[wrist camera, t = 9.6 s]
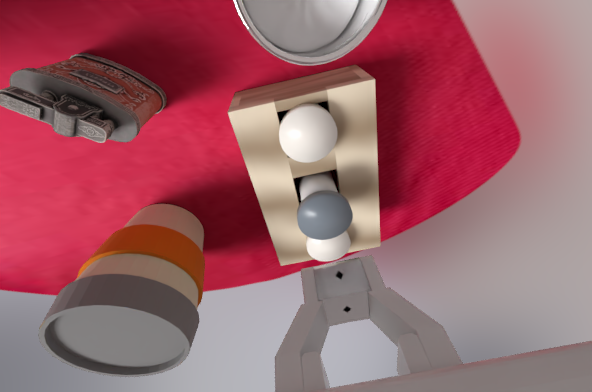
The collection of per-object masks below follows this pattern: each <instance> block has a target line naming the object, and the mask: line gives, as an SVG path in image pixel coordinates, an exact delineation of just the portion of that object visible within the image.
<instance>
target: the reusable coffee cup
mask: <svg viewBox="0 0 592 392" xmlns="http://www.w3.org/2000/svg"><path fill="white" fill-rule="evenodd" d="M203 241H204V229H203V226H202V224H201V223H200V221H199V220H198V219H197V217H196V216H195V215H193V214H192V213H191V212H189V211H187V210H186V209H184V208H181V207H178V206H175V205H171V204H153V205H149V206H146V207H144V208H142V209H141V210H140V211H138V212H137V213H136V214H135V215H134V217H133V218H132V219H131V220H130V221H129V222H128V223H127V224H126V225H125V226H124V228H122V229H120V230H118V231H116V232H115V233H113V234H112V235H111V236H110V237H109V238H108V239H107V240H106V241H105V242H104V243H103V244H102V245H101V246H100V247H99V249H98V250H97V251H96V252H95V253H94V254H93V255H92V256H91V257H90V258H89V259H88V260H87V261H86V262H85V263H84V264H83V266H82V267H81V269H80V270H79V273H78V277H77V279H76V280H75V281H74V282H72V283H70V284H68V285H67V286H66V287H64V288H63V289H62V290H61V291H60V293H59V294H58V296H57V298H56V299H55V301H54V303H53V305H52V306H51V308H50V310H49V312H48V313H47V315H46V317H45V319H44V321H43V323H42V324H41V326H40V328H39V334H38V336H39V339H40V343H41V344H42V346H43V347H44V348H45V350H46V351H47V352H49V353H50V354H51V355H52V356H53V357H55V358H57V359H58V360H60V361H62V362H63V363H66V364H68V365H70V366H72V367H75V368H78V369H81V370H84V371H88V372H92V373H97V374H102V375H109V376H120V377H138V376H148V375H153V374H158V373H162V372H165V371H168V370H170V369H173V368H174V367H176V366H178V365H179V364H181V363H182V362H183V361H184V360H185V359H186V357H187V356H188V354H189V351H190V348H191V345H192V342H193V339H194V336H195V333H196V331H197V328H198V324H199V315H198V312H197V307H198V305H199V304H200V302H201V299H202V294H203V281H204V269H205V260H204V256H203V253H202V252H203Z"/></svg>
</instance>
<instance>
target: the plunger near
mask: <svg viewBox="0 0 592 392" xmlns="http://www.w3.org/2000/svg"><path fill="white" fill-rule="evenodd" d="M283 112H284V117H283V119H282V121H281V123H280V127H279V140H280V144H281V147H282V149H283V151H284V152H285V153H286V154H287V155H288V156H289V157H290V158H292V159H293V160H296V161H298V162H304V163H310V162H315V161H318V160H320V159H322V158H324V157H325V156H327V155H328V154H329V153H330V152H331V151H332V149H333V148H334V146H335V144H336V141H337V126H336V124H335V122H334V120H333V118H332V116H331V115H330V113H329V112H328V111H327V110H326V109H324V108H323V107H321V106H319V105H318V103H315V104H301V105H298V106H296V107H294V108H292V109H289V110H284V111H283Z"/></svg>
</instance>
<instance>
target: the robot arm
mask: <svg viewBox="0 0 592 392" xmlns="http://www.w3.org/2000/svg"><path fill="white" fill-rule="evenodd" d="M301 278H302V286H303V294H304V302H305V304H302V305H301V306H300V308H299V310H298V312H297V314H296V316H295V318H294V320H293V322H292V324H291V327H290V328H289V330H288V332H287V334H286V336H285V338H284V340H283V342H282V344H281V346H280V348H279V350H278V352H277V354H276V356H275V392H592V341H587V342H582V343H576V344H571V345H565V346H560V347H554V348H549V349H543V350H538V351H532V352H527V353H521V354H515V355H510V356H505V357H499V358H493V359H488V360H482V361H477V362H471V363H466V364H463V363H462V361H461V359H460V358H459V356H458V354H457V352H456V350H455V348H454V346H453V345H452V343H451V341H450V339H449V337H448V335H447V333H446V331H445V330H444V328H443V326H442V325H440V324H439V323H438V322H436V321H435V320H433V319H432V318H431V317H429V316H428V315H427V314H425V313H424V312H422V311H421V310H420V309H418V308H417V307H416V306H414V305H413V304H411V303H410V302H409V301H407V300H406V299H405V298H403V297H402V296H401V295H399V294H398V293H396V292H395V291H394V290H392V289H391V288H386V287H385V285H384V282H383V280H382V277H381V275H380V273H379V271H378V268H377V266H376V263H375V261H374V258H373V256H371V255H370V256H365V257H360V258H354V259H349V260H345V261H340V262H336V263H332V264H326V265H321V266H315V267H310V268H304V269H301ZM364 319H370V320H371V321H372V322H373V323H374V324H375V325H376V326H377V327H378V328H379V329H380V330H381V331H383V333H384V334H385V335H386V336H387V337H388V338H389V339H390V340H391V341H392V342H393V343H394V344H395V345H396V346H397V347H398V358H397V371H398V374H399V376H394V377H388V378H383V379H377V380H372V381H366V382H361V383H355V384H350V385H344V386H339V387H333V388H330V386H329V381H328V378H327V375H326V372H325V368H324V366H323V362H322V359H321V356H320V354H321V351H322V348H323V345H324V342H325V339H326V336H327V333H328V330H329V326H333V325H337V324H342V323H346V322H351V321H357V320H364Z"/></svg>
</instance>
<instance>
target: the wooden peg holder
mask: <svg viewBox="0 0 592 392" xmlns="http://www.w3.org/2000/svg"><path fill="white" fill-rule="evenodd" d="M324 101H327V106H328V112H329V113H330V115H331V116H332V118H333V120H334V122H335V124H336V126H337V141H336V144H335V146H334V148H333V149H332V151H331V152H330V153H329V154H328V155H327V156H325V157H324V158H322V159H320V160H318V161H315V162H310V163H304V162H298V161H296V160H293V159H292V158H290V157H289V156H288V155H287V154H286V153H285V152H284V151H283V149H282V147H281V144H280V140H279V127H280V121H279V117H278V113H277V112H280V111H284V110H289V109H292V108H294V107H296V106H298V105H301V104H315V103H320V102H324ZM228 115H229V118H230V121H231V124H232V127H233V129H234V132H235V135H236V138H237V141H238V144H239V147H240V150H241V152H242V155H243V158H244V161H245V164H246V167H247V170H248V172H249V175H250V178H251V181H252V184H253V187H254V190H255V193H256V195H257V198H258V201H259V204H260V207H261V210H262V213H263V216H264V218H265V221H266V224H267V227H268V230H269V233H270V236H271V238H272V241H273V244H274V247H275V250H276V253H277V256H278V259H279V261H280V264H281V266H282V265H287V264H293V263H298V262H303V261H308V260H313V259H314V258H312V257H311V256H310V255H309V253H308V251H307V246H306V238H307V236H306V235H305V234H303V233H302V231H301V230H300V228H299V226H298V221H297V209H298V206H299V200H298V196H297V192H296V187H295V183H294V179H293V178H297V177H301V176H306V175H311V174H315V173H320V172H325V171H330V170H334V169H336V174H337V181H338V189H339V193H340V194H342V195H343V196H344V197H345V198H346V199H347V200H348V202H349V204H350V207H351V210H352V213H353V219H352V222H351V224H350V226H349V228H348V229H347V230H346V231H347V232H348V235H349V238H350V241H351V245H350V248H349V250H348V252H347V253H349V252H354V251H359V250H364V249H369V248H374V247H379V246H380V217H379V185H378V153H377V121H376V89H375V78H373V77H372V76H371V75H369V74H368V73H366V72H365V71H364V70H362V69H361V68H360V67H358V66H357V65H352V66H348V67H344V68H339V69H335V70H331V71H326V72H322V73H318V74H313V75H309V76H305V77H300V78H296V79H292V80H287V81H283V82H279V83H274V84H270V85H266V86H261V87H257V88H253V89H248V90H244V91H240V92H235V94H234V97H233V100H232V102H231V105H230V108H229V110H228Z"/></svg>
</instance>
